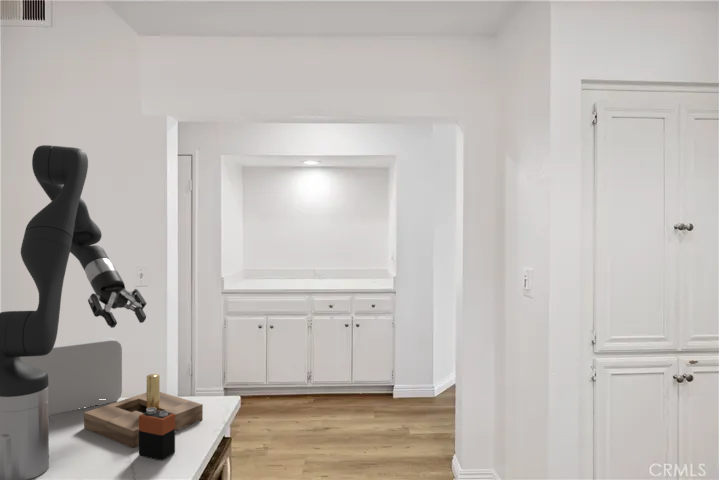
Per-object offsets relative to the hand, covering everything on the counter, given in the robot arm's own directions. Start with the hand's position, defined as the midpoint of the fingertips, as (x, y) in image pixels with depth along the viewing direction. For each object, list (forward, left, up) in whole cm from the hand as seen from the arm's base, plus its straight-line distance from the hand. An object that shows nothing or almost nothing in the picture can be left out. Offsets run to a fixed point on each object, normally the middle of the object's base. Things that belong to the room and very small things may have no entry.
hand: (129, 323), depth 134 cm
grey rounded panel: (-9, +17, -25) cm, 31 cm away
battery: (-12, -27, -25) cm, 38 cm away
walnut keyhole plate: (-3, -10, -24) cm, 26 cm away
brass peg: (-3, -14, -24) cm, 28 cm away
